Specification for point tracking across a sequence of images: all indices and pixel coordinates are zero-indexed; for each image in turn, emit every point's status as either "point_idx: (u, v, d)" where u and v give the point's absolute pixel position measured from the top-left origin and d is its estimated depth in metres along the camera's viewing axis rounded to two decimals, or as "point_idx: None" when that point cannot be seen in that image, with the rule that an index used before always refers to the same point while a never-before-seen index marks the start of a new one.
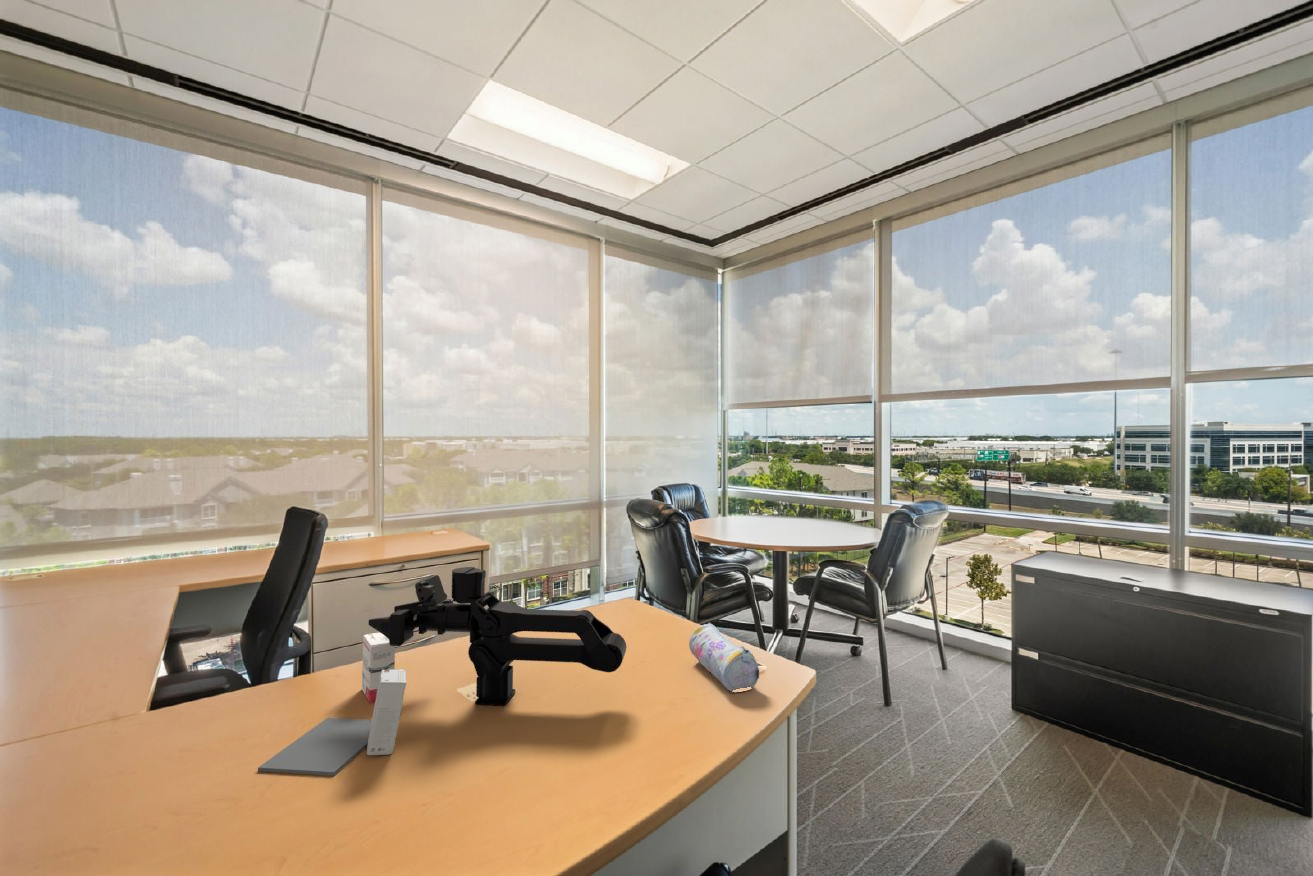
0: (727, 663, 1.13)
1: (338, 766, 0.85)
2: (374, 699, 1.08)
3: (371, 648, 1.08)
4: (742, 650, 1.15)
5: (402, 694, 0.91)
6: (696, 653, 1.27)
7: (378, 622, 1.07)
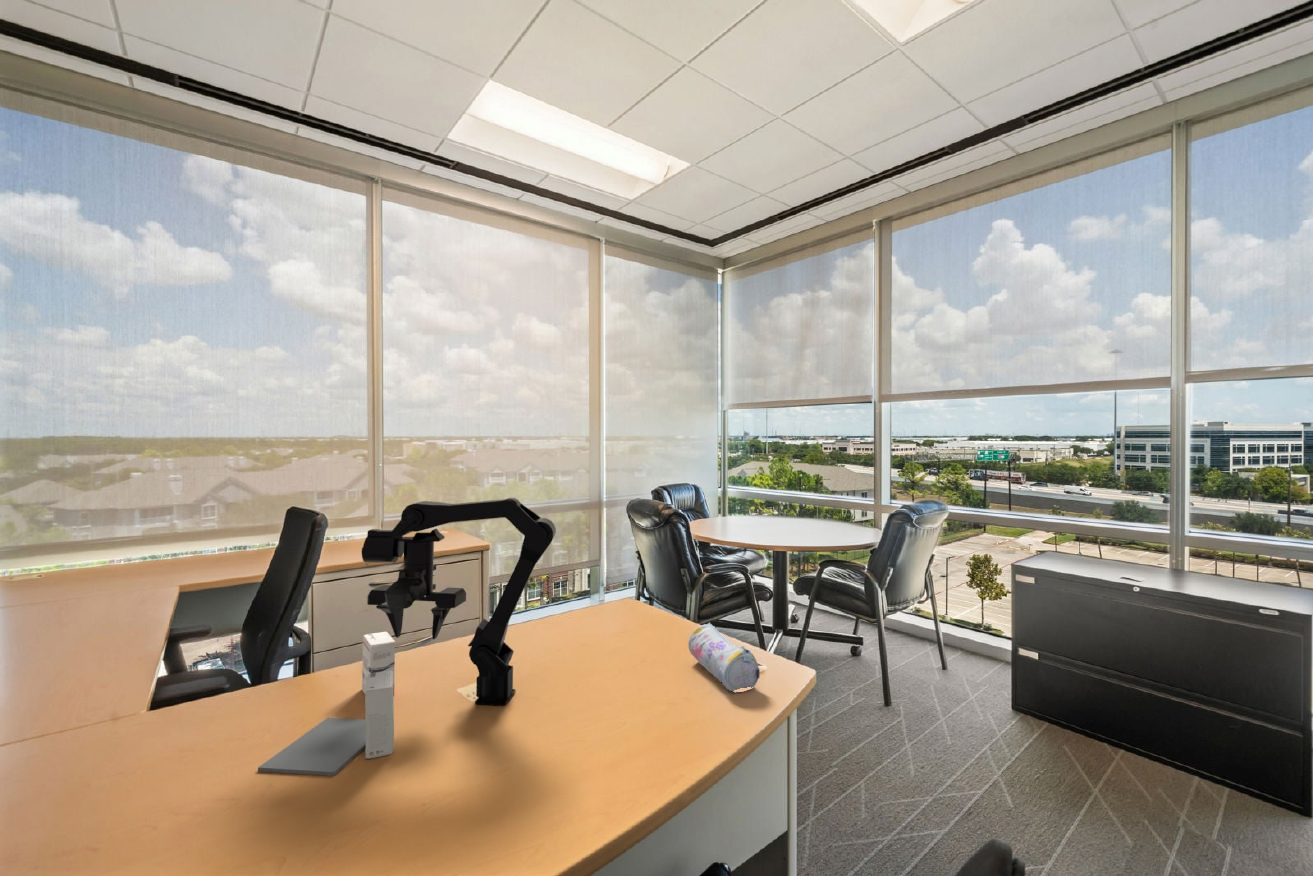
0: (727, 663, 1.13)
1: (338, 766, 0.85)
2: None
3: (371, 648, 1.08)
4: (742, 650, 1.15)
5: (390, 698, 0.89)
6: (695, 654, 1.27)
7: (438, 626, 1.08)
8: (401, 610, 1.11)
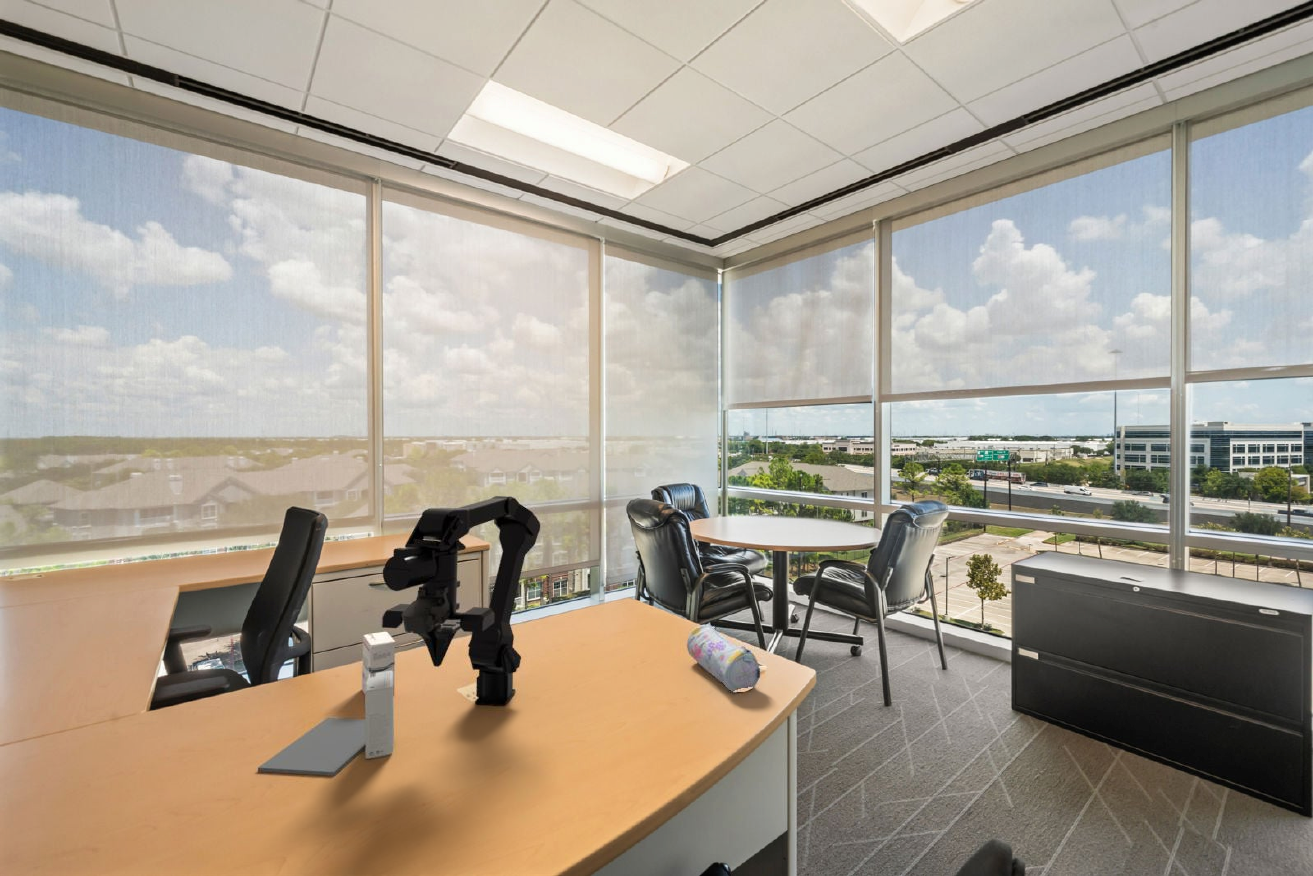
0: (729, 663, 1.13)
1: (338, 766, 0.85)
2: None
3: (371, 648, 1.08)
4: (743, 650, 1.15)
5: (390, 698, 0.89)
6: (694, 654, 1.26)
7: (443, 651, 0.94)
8: None
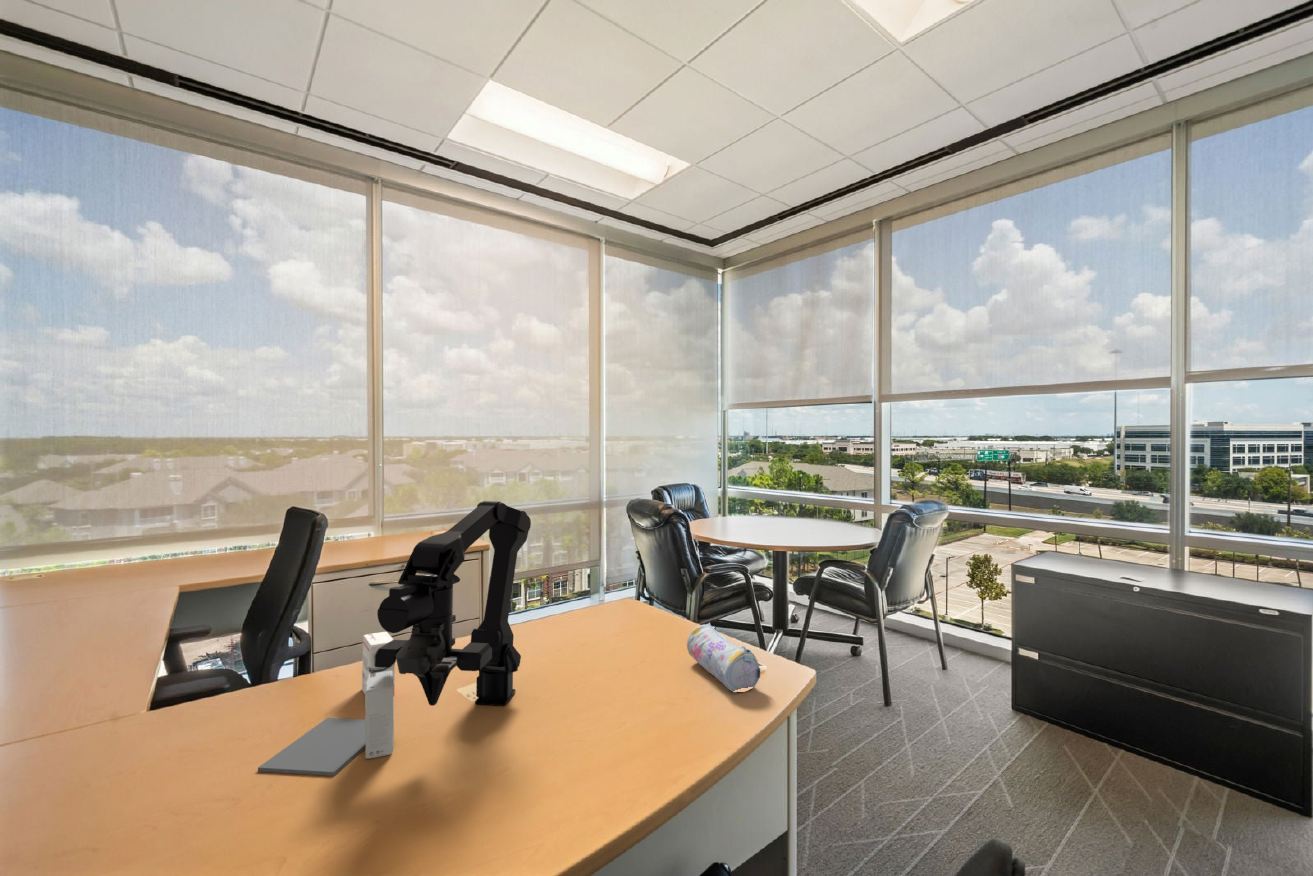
0: (729, 663, 1.13)
1: (338, 766, 0.85)
2: None
3: (371, 648, 1.08)
4: (743, 650, 1.15)
5: (390, 698, 0.89)
6: (694, 654, 1.26)
7: (439, 690, 0.91)
8: None
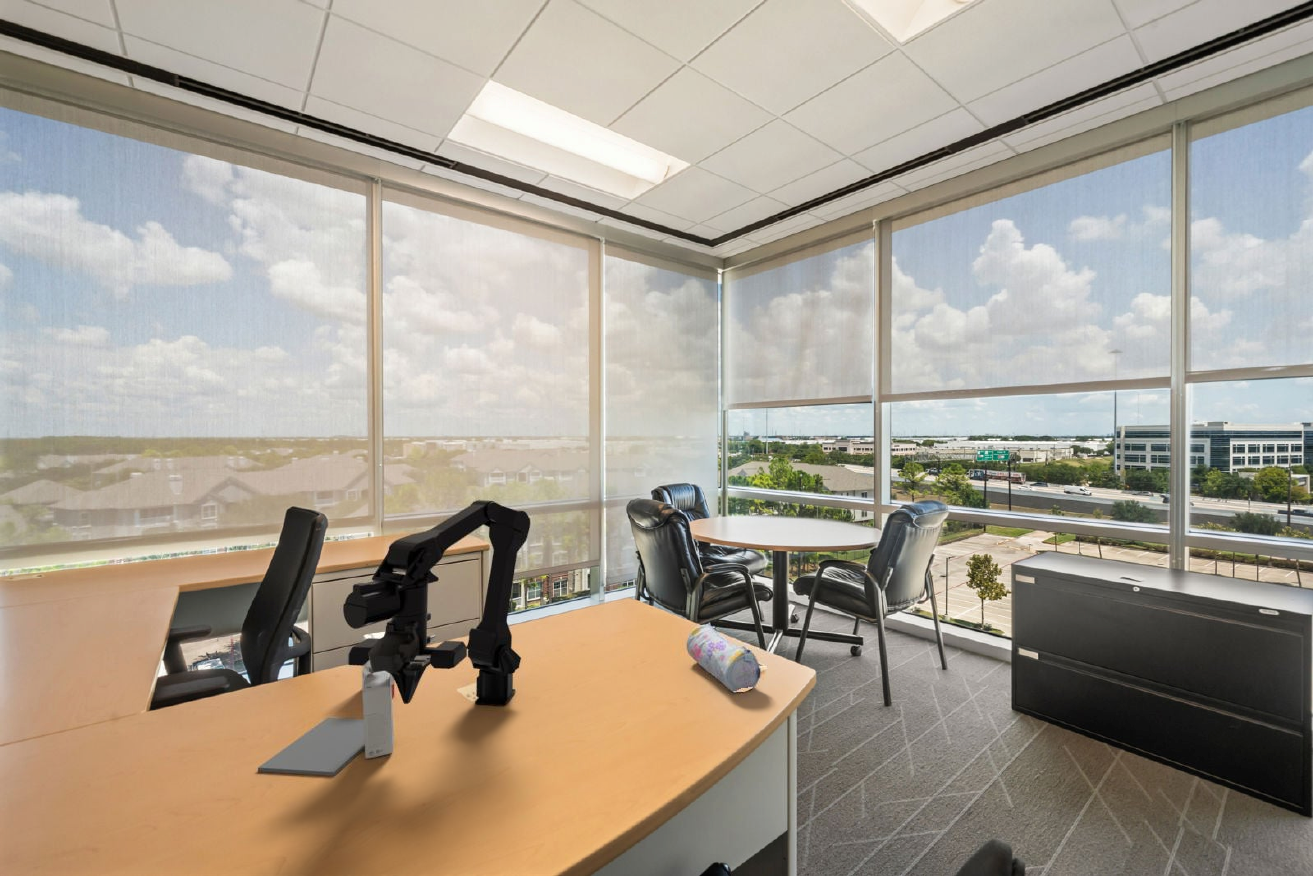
0: (729, 663, 1.13)
1: (338, 766, 0.85)
2: None
3: None
4: (744, 650, 1.15)
5: (388, 697, 0.89)
6: (694, 654, 1.26)
7: (412, 688, 0.91)
8: None
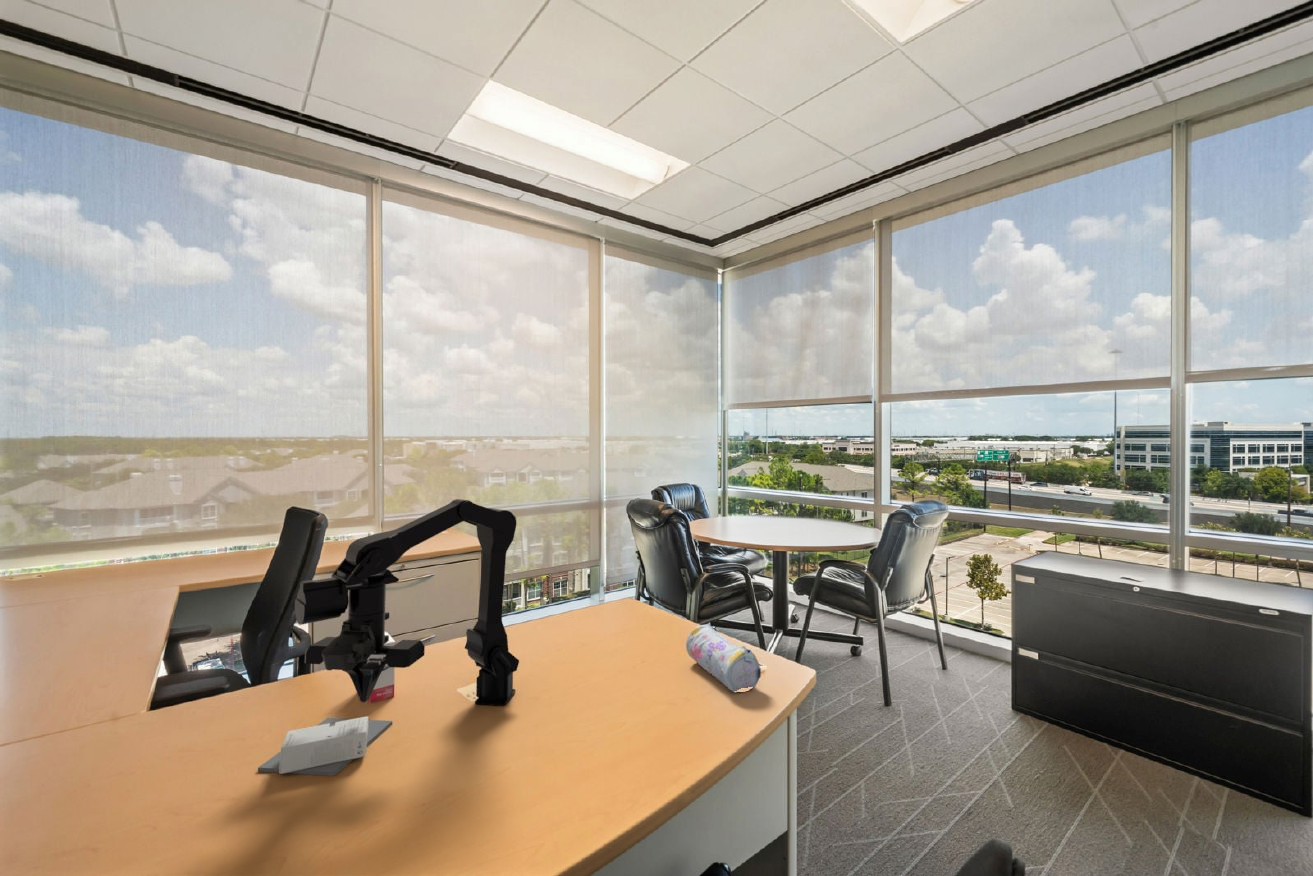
0: (730, 663, 1.13)
1: (338, 766, 0.85)
2: (374, 699, 1.08)
3: None
4: (744, 650, 1.15)
5: (295, 747, 0.84)
6: (694, 655, 1.26)
7: (370, 686, 0.92)
8: None
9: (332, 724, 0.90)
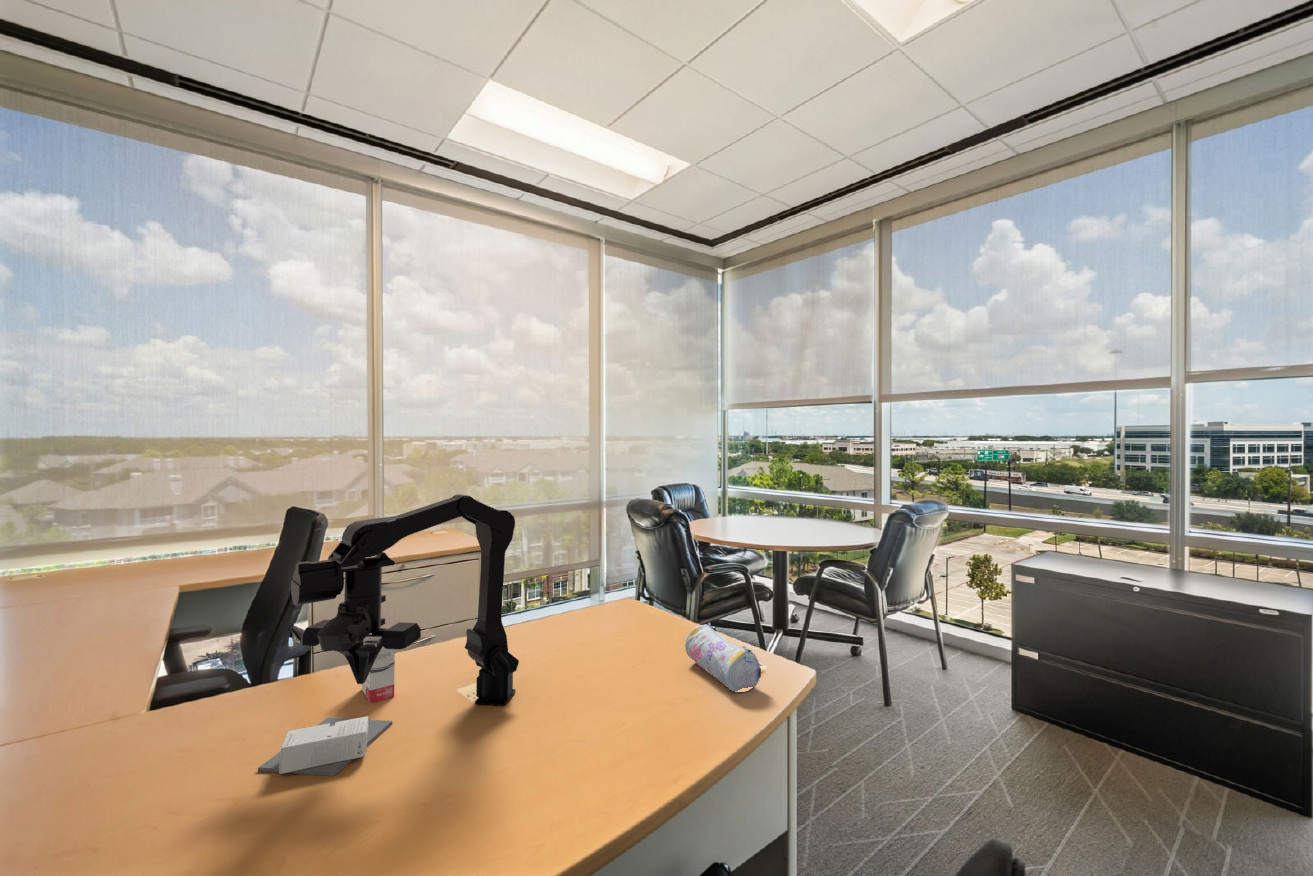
0: (730, 664, 1.13)
1: (338, 766, 0.85)
2: (374, 699, 1.08)
3: None
4: (745, 650, 1.15)
5: (295, 747, 0.84)
6: (693, 655, 1.26)
7: (366, 669, 0.92)
8: None
9: (332, 724, 0.90)
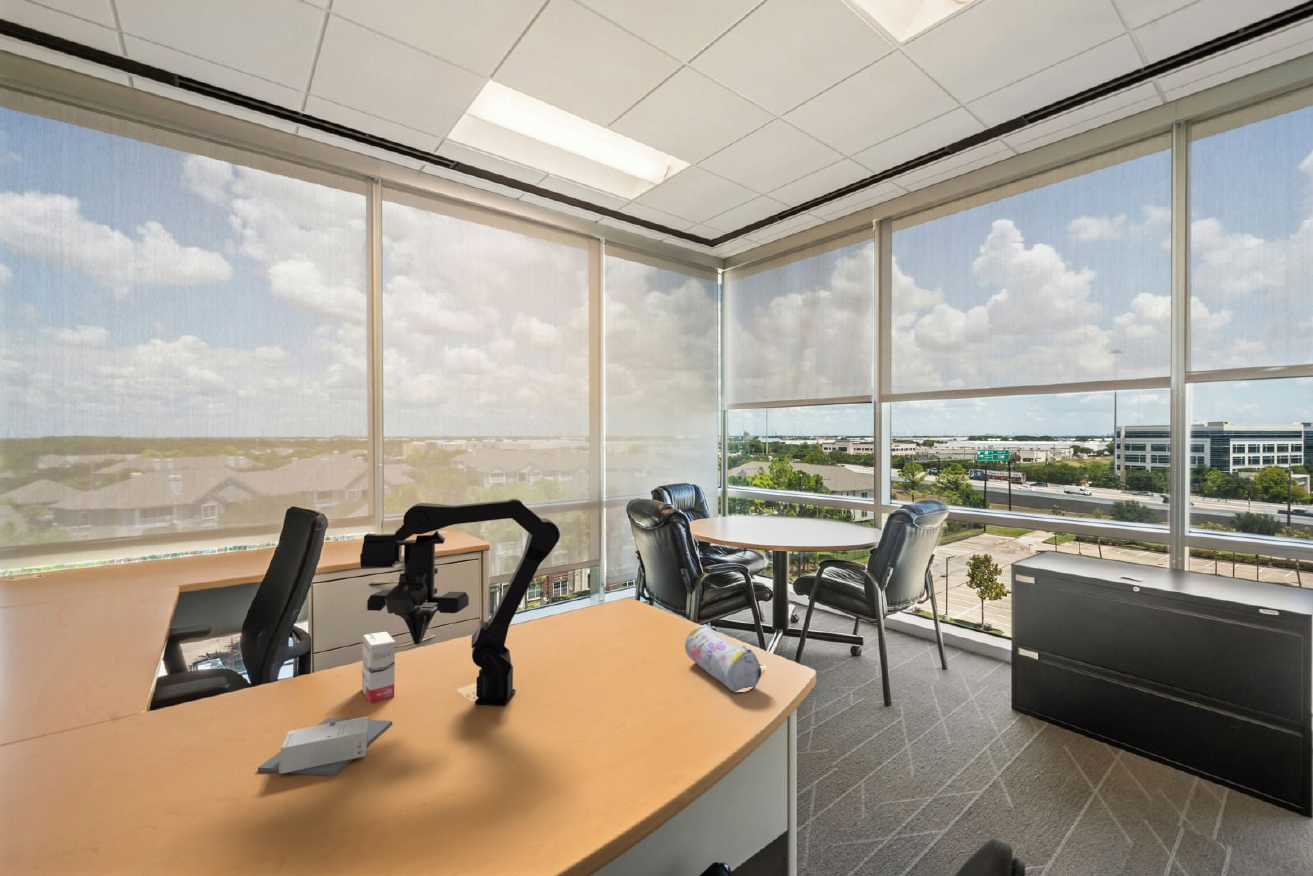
0: (731, 664, 1.13)
1: (338, 766, 0.85)
2: (374, 699, 1.08)
3: (371, 648, 1.08)
4: (745, 650, 1.15)
5: (295, 747, 0.84)
6: (693, 655, 1.26)
7: (422, 631, 1.06)
8: None
9: (332, 724, 0.90)
